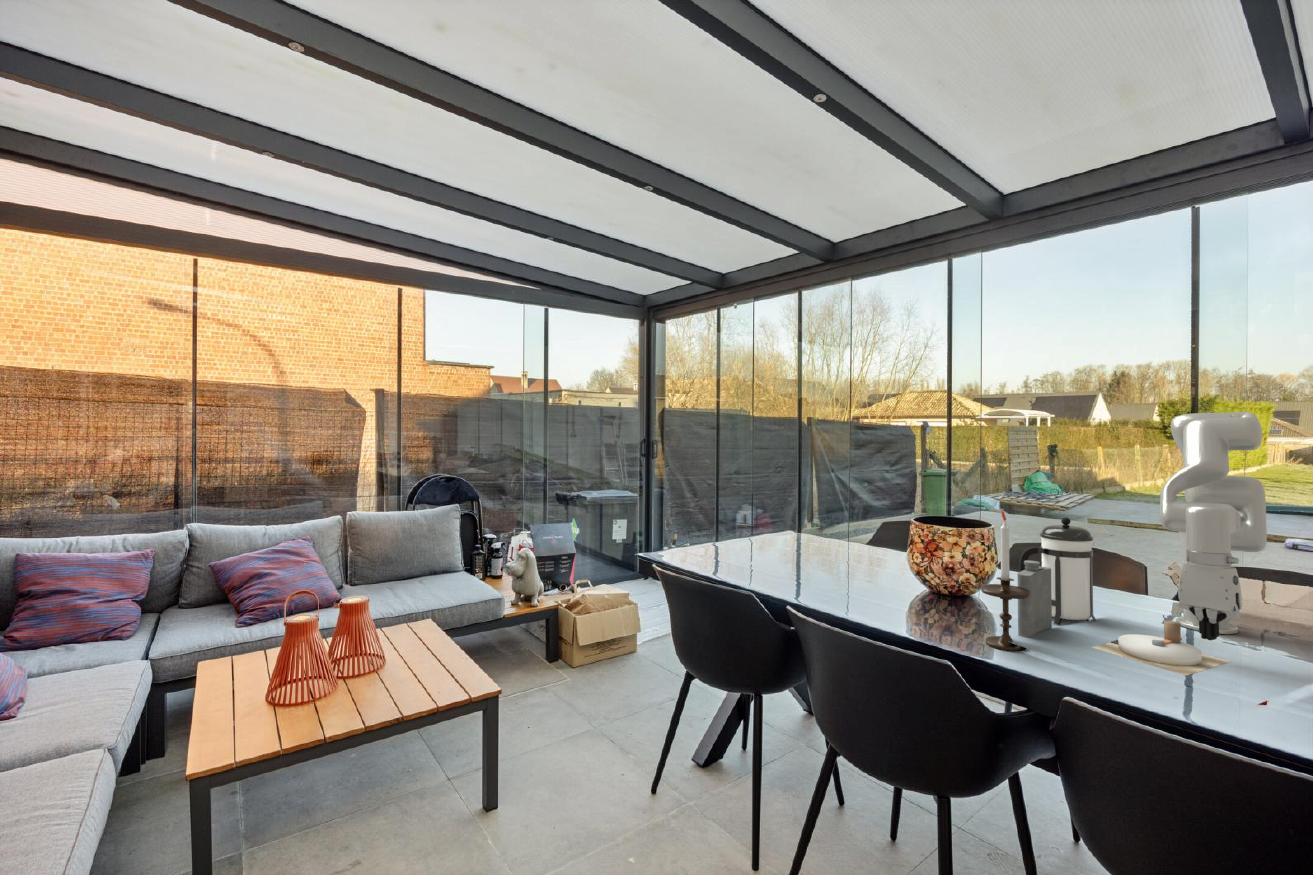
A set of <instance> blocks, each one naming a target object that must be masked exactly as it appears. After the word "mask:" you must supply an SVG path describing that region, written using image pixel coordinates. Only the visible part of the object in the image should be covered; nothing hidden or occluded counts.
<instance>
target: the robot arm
mask: <svg viewBox="0 0 1313 875" xmlns="http://www.w3.org/2000/svg"><path fill="white" fill-rule="evenodd" d="M1262 429H1263V428H1262V425H1261V423H1260V421H1259V419H1258V417H1257V415H1256V414H1255V413H1253V412H1249V411H1237V412H1235V411H1232V412H1197V413H1196V412H1195V413H1193V412H1192V413H1185V414H1180V415H1177V416H1175V417H1173V418H1172V419H1171V421H1170V431H1171V435H1172V437H1173V440H1174V442H1175V444H1176V446H1177V448H1178V450H1179V452H1180V454H1181V456H1182V464H1183V466H1182V468H1181V469H1180V470H1178V471H1176V472H1175V473H1173V475H1171V476H1170V477H1169V478H1168V479H1167V480H1166V481H1165V483H1164V484H1163V486H1162V488H1161V490H1160V491H1161V492H1160V497H1159V520H1160V523H1161V525H1162V526H1163V528H1165V529H1166V530H1168V531H1172V532H1178V536H1179V541H1180V546H1181V554H1182V555H1181V556H1182V558H1181V559H1182V565H1181V568H1180V572H1179V579H1178V590H1177V591H1178V600H1179V603H1178V607H1180V608H1182V609H1183V616H1179V617H1176V619H1175V622H1178V623H1180V624H1181V626H1182V627H1183V628H1186V629H1190V630H1194V631H1198V633H1199V634H1200V636H1201V637H1200V638H1201V639H1203V640H1207V641H1214V640H1217V639H1218V638H1219V636H1220V635H1235V634H1238V633H1239V627H1238V626H1237V625H1235V624H1233V623H1231V619H1232V620H1233V619H1234V620H1235V619H1240V618H1241V617H1242V616H1241V612H1240V610H1242V608H1243V597H1242V595H1243V594H1242V589H1241V583H1240V578H1239V574H1238V570H1237V568H1236V567H1233V565H1235V564H1236V565H1238V564H1239V562H1240V560H1239V557H1234V556H1233V554H1232V552H1231V551H1233V552H1243V553H1244V552H1245V553H1259V552H1262V551H1264V550H1265V548H1266V546H1267V540H1268V535H1267V534H1268V532H1267V531H1268V530H1267V504H1266V503H1267V502H1266V501H1267V500H1266V493H1265V487H1264V485H1263V483H1262V482H1261V481H1260V479H1258V478H1255V477H1252V476H1243V475H1242V476H1241V475H1238V476H1237V475H1228V474H1229V472H1230V461H1229V460H1230V459H1229V451H1255V450H1257V449H1259V447H1260V446H1261V444H1262V440H1263V430H1262ZM1182 492H1184V499H1185V501H1183V500H1181V501H1180V500H1178V501H1177V500H1175V499H1176V496H1177V495H1178V494H1180V493H1182ZM1240 513H1241V514H1242V516H1241V514H1240Z"/></svg>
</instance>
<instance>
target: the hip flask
mask: <svg viewBox="0 0 1313 875" xmlns="http://www.w3.org/2000/svg"><path fill="white" fill-rule="evenodd" d="M1024 564H1025V565H1026V566H1025V568H1026V570H1023V571H1020V572H1019V571H1018V573H1017V587H1021V588H1025V589H1027V590H1029V591H1030V597H1029V598H1026V599H1017V624H1018V625H1017V636H1018V637H1024V638H1033V636H1034V635H1036V634H1037V633H1039V632H1040V633H1041V632H1044V631H1048V630H1052V629H1053V627H1052V626H1053V623H1052V622H1053V621H1052V620H1053V619H1052V617H1053V616H1052V600H1051V568H1049V567H1042V566H1041V565H1040V564H1041V562H1040V561H1036V560H1027V561H1024Z"/></svg>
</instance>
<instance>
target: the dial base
mask: <svg viewBox="0 0 1313 875" xmlns="http://www.w3.org/2000/svg"><path fill="white" fill-rule="evenodd" d="M1090 648H1092V649H1095V650H1098V651H1102V652H1105V653H1109V654H1112V655H1116V656H1119V657H1122V658H1126V659H1129V660H1131V661H1134V662H1135V661H1136V662H1139V663H1142V664H1146V665H1149V666H1153V667H1156V668H1159V669H1163V670H1166V671H1169V672H1173V673H1177V674H1181V675H1184V676H1186V677H1187V676H1191V675H1193V674H1197V673H1200V672H1202V671H1206V670H1209V669H1212V668H1216V667H1219V666H1223V665H1225V664H1229V663H1231V662H1232V660H1228V659H1224V658H1219V657H1216V656H1212V655H1208V654H1204V653H1202V662H1201V663H1200V664H1197V665H1173V664H1165V663H1159V662H1154V661H1149V660H1145V659H1142V658H1138V657H1135V656H1132V655H1130V654H1127V653H1125V652H1123V651H1122V650H1120V649H1119V646H1118V639H1116V640H1111V641H1110V642H1107V643H1103V644H1099V645H1096V646H1095V645H1094V646H1092V647H1090Z"/></svg>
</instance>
